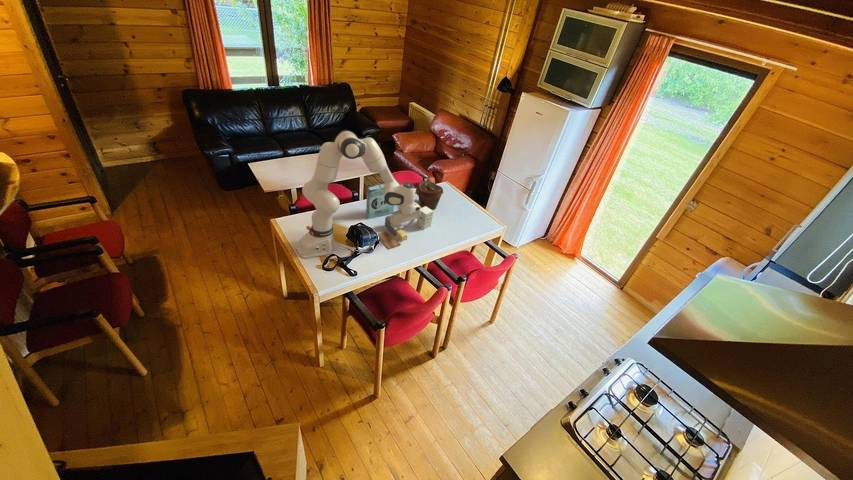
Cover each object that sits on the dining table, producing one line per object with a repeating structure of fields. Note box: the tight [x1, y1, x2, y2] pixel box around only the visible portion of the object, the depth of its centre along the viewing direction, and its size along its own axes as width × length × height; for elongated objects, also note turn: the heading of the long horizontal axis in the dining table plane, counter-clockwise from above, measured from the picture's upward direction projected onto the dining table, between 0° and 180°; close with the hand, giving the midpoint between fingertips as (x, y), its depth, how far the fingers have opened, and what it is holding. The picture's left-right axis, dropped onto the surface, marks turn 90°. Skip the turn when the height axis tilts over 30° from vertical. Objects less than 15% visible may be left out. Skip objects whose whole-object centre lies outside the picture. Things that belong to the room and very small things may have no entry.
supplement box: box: [415, 206, 434, 230], centre depth 244 cm, size 7×7×13 cm
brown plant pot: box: [415, 180, 444, 211], centre depth 262 cm, size 18×20×18 cm
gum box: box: [365, 183, 395, 220], centre depth 244 cm, size 20×5×23 cm, turn 123°
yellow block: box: [395, 229, 408, 242], centre depth 234 cm, size 12×4×4 cm, turn 37°
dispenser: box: [384, 214, 404, 237], centre depth 236 cm, size 12×7×10 cm, turn 36°
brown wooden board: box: [377, 230, 402, 250], centre depth 230 cm, size 9×16×1 cm, turn 36°
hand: (404, 226), depth 227 cm, fingers open, 8 cm apart
